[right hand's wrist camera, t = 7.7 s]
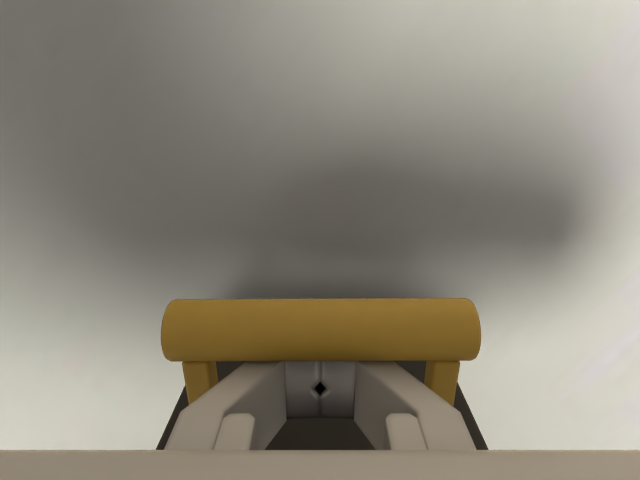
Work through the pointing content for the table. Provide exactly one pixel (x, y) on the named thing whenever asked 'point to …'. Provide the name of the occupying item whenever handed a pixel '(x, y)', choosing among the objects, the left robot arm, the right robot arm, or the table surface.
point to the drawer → (322, 350)
